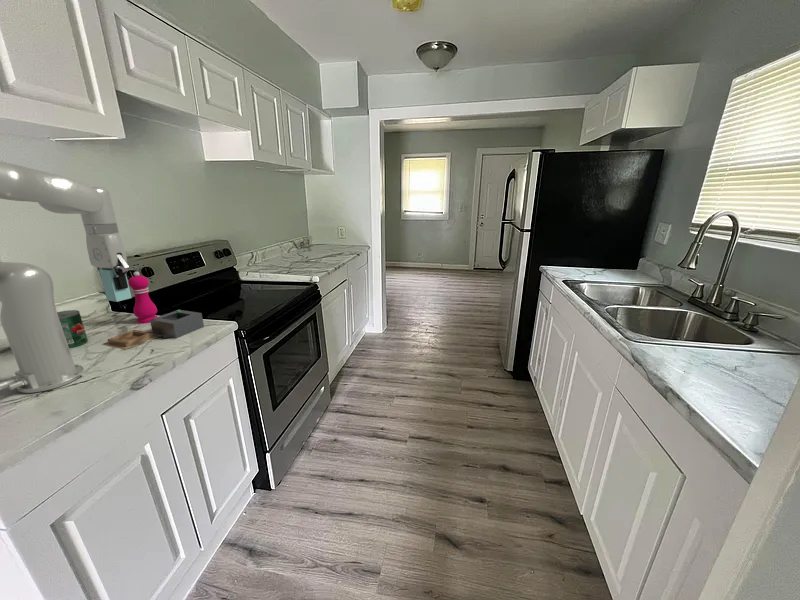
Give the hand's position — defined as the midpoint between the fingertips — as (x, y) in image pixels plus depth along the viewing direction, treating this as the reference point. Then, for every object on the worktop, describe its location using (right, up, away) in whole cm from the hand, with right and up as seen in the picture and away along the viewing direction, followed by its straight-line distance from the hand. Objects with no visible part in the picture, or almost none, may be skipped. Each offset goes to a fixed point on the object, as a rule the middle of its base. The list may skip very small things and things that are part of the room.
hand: (116, 287), depth 104 cm
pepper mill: (-8, -13, +23) cm, 27 cm away
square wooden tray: (0, -18, +6) cm, 19 cm away
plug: (0, -4, +1) cm, 4 cm away
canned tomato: (-17, -19, +3) cm, 25 cm away
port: (+10, -16, +14) cm, 23 cm away
